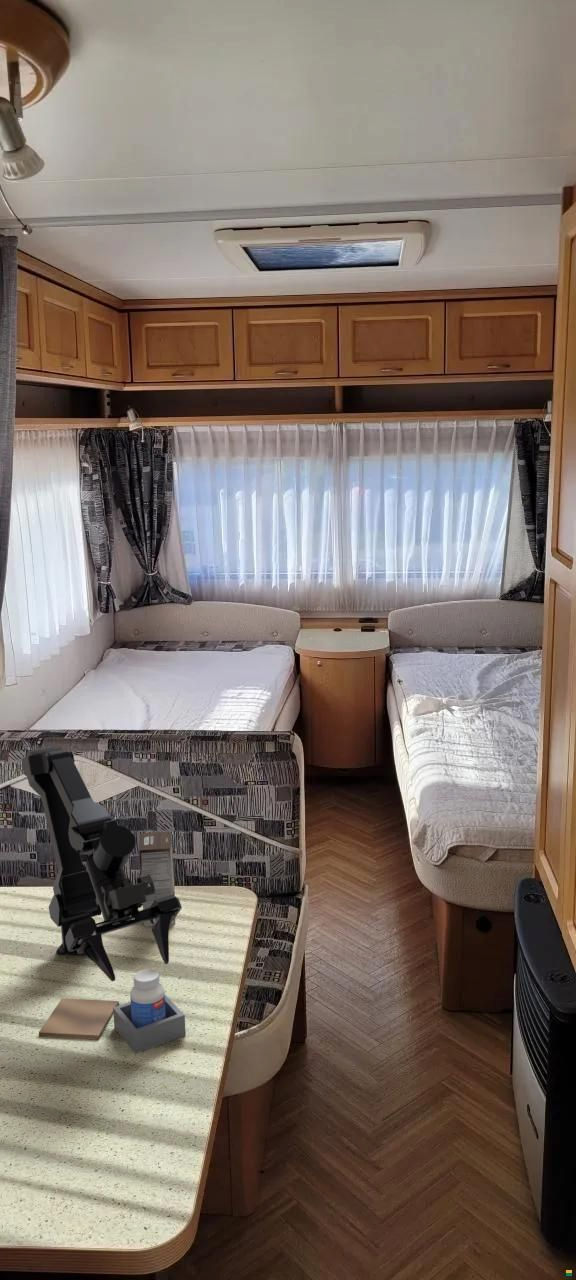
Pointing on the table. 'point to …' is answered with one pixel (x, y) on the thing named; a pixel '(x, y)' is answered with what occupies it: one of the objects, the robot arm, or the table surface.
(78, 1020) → the walnut coaster
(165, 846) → the coffee box
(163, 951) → the robot arm
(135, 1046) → the holder box
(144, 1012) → the pill bottle
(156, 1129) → the table surface
